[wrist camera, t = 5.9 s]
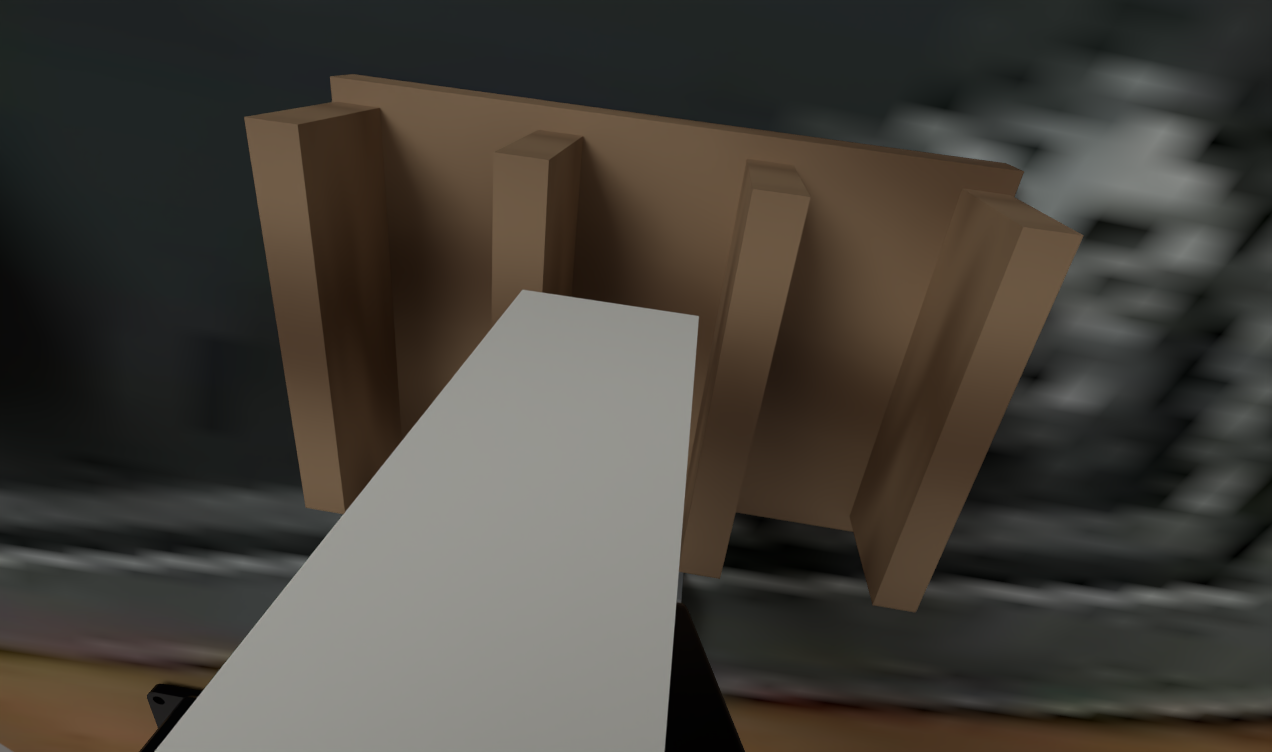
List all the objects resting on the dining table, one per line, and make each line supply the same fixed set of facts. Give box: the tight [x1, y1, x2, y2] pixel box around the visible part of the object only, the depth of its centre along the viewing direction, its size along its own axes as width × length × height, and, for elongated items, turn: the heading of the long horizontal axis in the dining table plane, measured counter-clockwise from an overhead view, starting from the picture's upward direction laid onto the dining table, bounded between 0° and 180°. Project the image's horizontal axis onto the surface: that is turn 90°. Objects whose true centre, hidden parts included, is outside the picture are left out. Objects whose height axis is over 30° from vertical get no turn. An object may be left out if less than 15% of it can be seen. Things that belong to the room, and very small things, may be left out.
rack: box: [244, 74, 1083, 612], centre depth 15 cm, size 10×15×4 cm, turn 83°
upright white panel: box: [155, 290, 699, 752], centre depth 8 cm, size 7×2×6 cm, turn 173°
